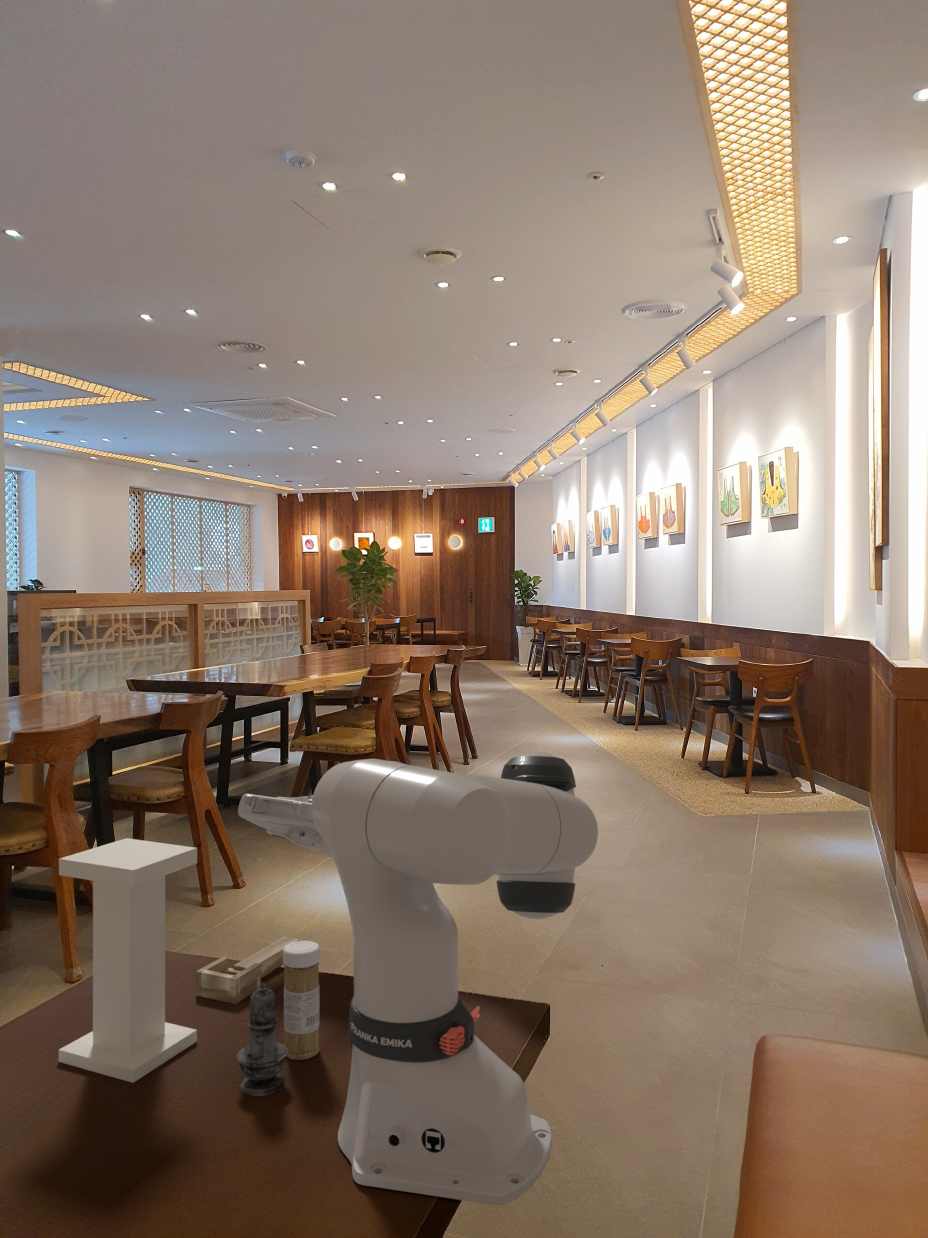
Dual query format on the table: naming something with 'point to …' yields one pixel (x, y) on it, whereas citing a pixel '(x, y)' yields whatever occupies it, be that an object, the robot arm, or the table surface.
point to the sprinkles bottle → (301, 999)
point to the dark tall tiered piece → (262, 1047)
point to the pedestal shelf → (128, 958)
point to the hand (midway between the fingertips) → (270, 803)
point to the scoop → (239, 973)
